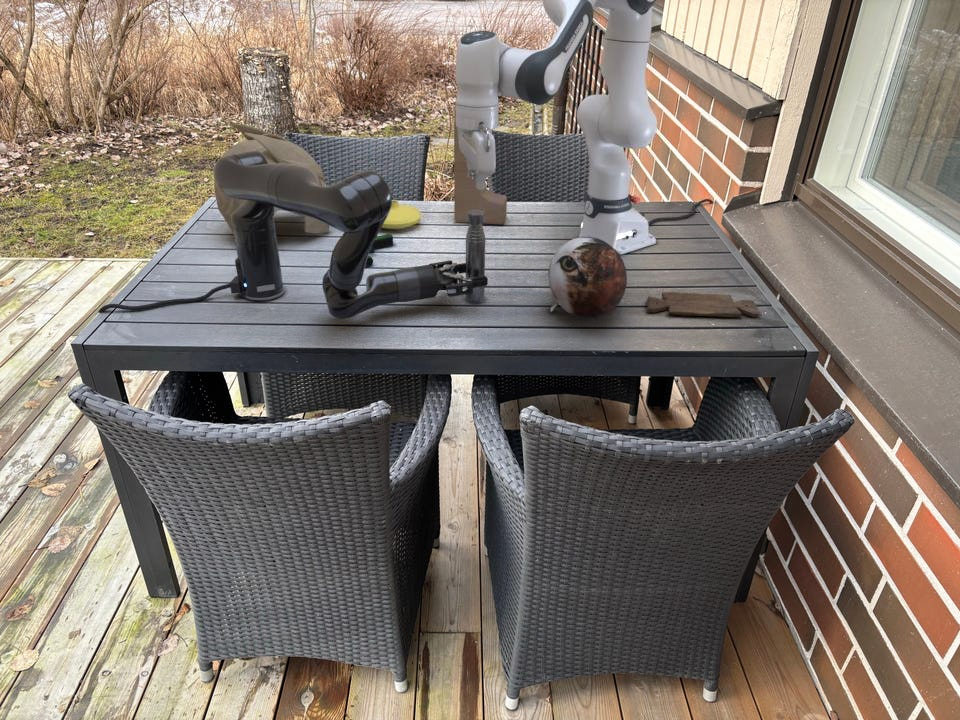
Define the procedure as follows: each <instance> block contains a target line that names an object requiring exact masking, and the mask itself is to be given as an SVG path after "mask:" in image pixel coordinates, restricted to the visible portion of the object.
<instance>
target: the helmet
mask: <svg viewBox="0 0 960 720" xmlns="http://www.w3.org/2000/svg"><path fill="white" fill-rule="evenodd" d="M229 126H230V127H233V128H235V129H237V130H238V131H239V132H240V134H242V135H243V136H244V137H245V139H246V140H245V141H240V142H237V143H235V144H234V145H233V146H231V147H230V148H229V149H228V150H227V151H226V152H225V153H224V154H223V155H222V157H224V156H227V155H232V154H237V153H242V152H248V151H259V152H261V153H262V154H263V155H264V156H265V157H266V159H267V161H268V163H269V164H273V163H288V164H294V165H299V166H303V167H306V168H309V169H310V170H312V171H313V172H314V173H315V174H316V175H317V176H318V177H319V179H320V181H321V183H322V186H328V185H327V182H326V180H325V175H324V173H323V172H324V171H323V169H322V167H321V166H320V165H319V164H318V163H317V161H316V160H315V159H314V157H313V156H312V155H311V154H310V153H309V152H308V151H306V150H305V149H304V148H302V147H301V146H299V145H298V144H296V143H293V142H291V141H290V140H289V139H287V138H285V137H283V136H281V135H277V134H274V133H270V132H268V131H267V130H264V129H261V128H258V127H255V126H251V125H246V124H238V123H237V124H236V123H230V125H229ZM222 157H221V158H222ZM213 187H214V195H215V200H216V206H217V210H218V211H219V213H220V214H221V216H222V218H223V219H224V220H225V222H226V224H227V226H228V227H229V229H230V230H231V232H232V233H233V227H232V222H231V215H232V213H233V212H234V211H235V210H236V209H237V208H239V207H240V206H241V205H242V204H243V203H244V202H245V201H246V200H242V199H232V198H229V197H228V196H226V195H225V194H224V193H223V192H222V191H221V190H220V189H219V187H218V186H217V184H216V182H215V179H214V180H213ZM279 210H280V209H279V208H277V207H275V212H274V215H275V214H276V213H277V212H278V211H279ZM294 214H295V215H298V216H303V221H304V232H305V233H310V234H311V233H313V234H319V233H330V227H331V226H329V225H327V224H325V223H323V222H320V221H318V220H316V219H313V218H310V217H307V216H304V215H301V214H297V213H294ZM233 235H234V233H233Z"/></svg>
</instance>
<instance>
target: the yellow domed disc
mask: <svg viewBox="0 0 960 720" xmlns="http://www.w3.org/2000/svg"><path fill="white" fill-rule="evenodd" d="M422 217H423V215H422V212H421V211H420V210H419V209H418V208H417V207H414V206H411V205H407V204H399V201H398V200H396V199H395V200H393V199H392V207H391V210H390V212H389V214H388V216H387V218H386V220H385V222H384V223H383V225H382V227H381V229H387V230H402V229H407V228H410V227H412V226H413V225H416V224H418V223H419V222H420V221H421V219H422Z"/></svg>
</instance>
